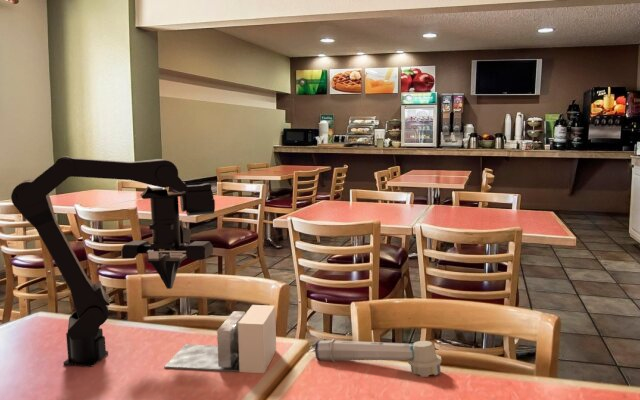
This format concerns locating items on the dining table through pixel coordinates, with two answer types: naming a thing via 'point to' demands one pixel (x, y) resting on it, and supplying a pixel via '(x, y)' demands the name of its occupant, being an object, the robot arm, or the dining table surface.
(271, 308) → the socket
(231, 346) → the grey piece
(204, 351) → the plate
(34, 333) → the dining table surface
